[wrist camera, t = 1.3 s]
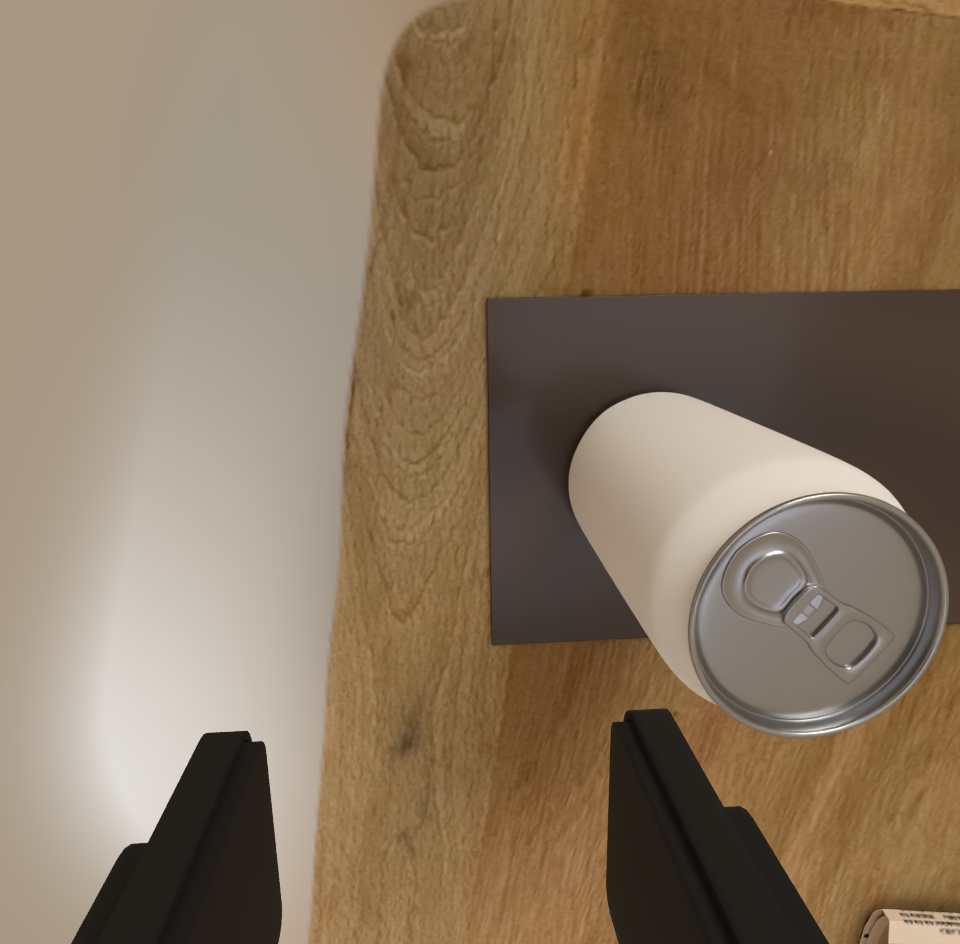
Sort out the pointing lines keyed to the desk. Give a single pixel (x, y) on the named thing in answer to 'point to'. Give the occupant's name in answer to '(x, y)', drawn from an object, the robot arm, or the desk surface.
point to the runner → (720, 382)
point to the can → (759, 564)
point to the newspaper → (911, 927)
